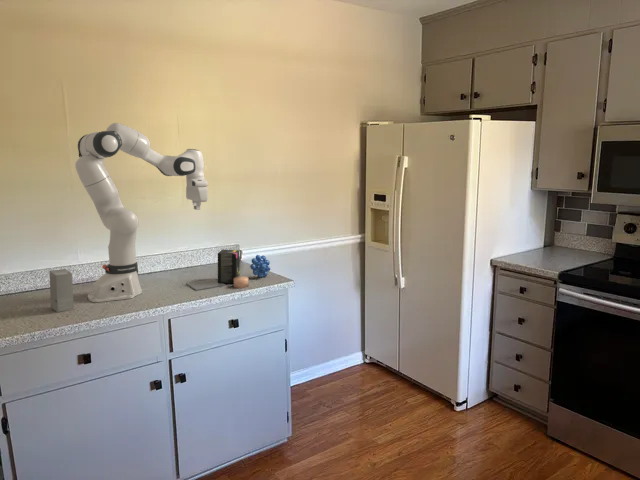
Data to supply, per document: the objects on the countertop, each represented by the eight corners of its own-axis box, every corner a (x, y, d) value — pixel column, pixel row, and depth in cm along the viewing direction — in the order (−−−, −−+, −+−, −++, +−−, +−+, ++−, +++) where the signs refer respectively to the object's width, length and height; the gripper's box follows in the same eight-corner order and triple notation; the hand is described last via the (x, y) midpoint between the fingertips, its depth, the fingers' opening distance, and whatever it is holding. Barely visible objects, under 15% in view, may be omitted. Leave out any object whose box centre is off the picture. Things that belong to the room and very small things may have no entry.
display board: (196, 290, 223) (196, 289, 223) (186, 284, 233) (186, 283, 233) (225, 285, 231) (225, 284, 231) (214, 279, 241) (214, 278, 241)
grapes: (255, 281, 238) (254, 257, 236) (248, 278, 243) (247, 255, 241) (275, 277, 246) (274, 254, 243) (267, 274, 251) (267, 252, 249)
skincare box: (50, 308, 199) (46, 270, 196) (69, 304, 204) (65, 267, 201) (57, 313, 193) (53, 274, 190) (76, 309, 198) (72, 271, 195)
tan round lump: (237, 289, 225) (237, 281, 225) (231, 285, 231) (231, 277, 230) (251, 286, 229) (251, 278, 228) (244, 283, 235) (244, 275, 234)
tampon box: (236, 283, 233) (236, 253, 231) (217, 282, 233) (217, 252, 231) (240, 278, 244) (240, 249, 242) (221, 277, 244) (222, 249, 242)
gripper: (182, 181, 249) (183, 208, 251) (196, 183, 232) (198, 212, 235) (194, 180, 252) (195, 207, 255) (209, 182, 236) (210, 211, 238)
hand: (197, 209), depth 245 cm, fingers closed
